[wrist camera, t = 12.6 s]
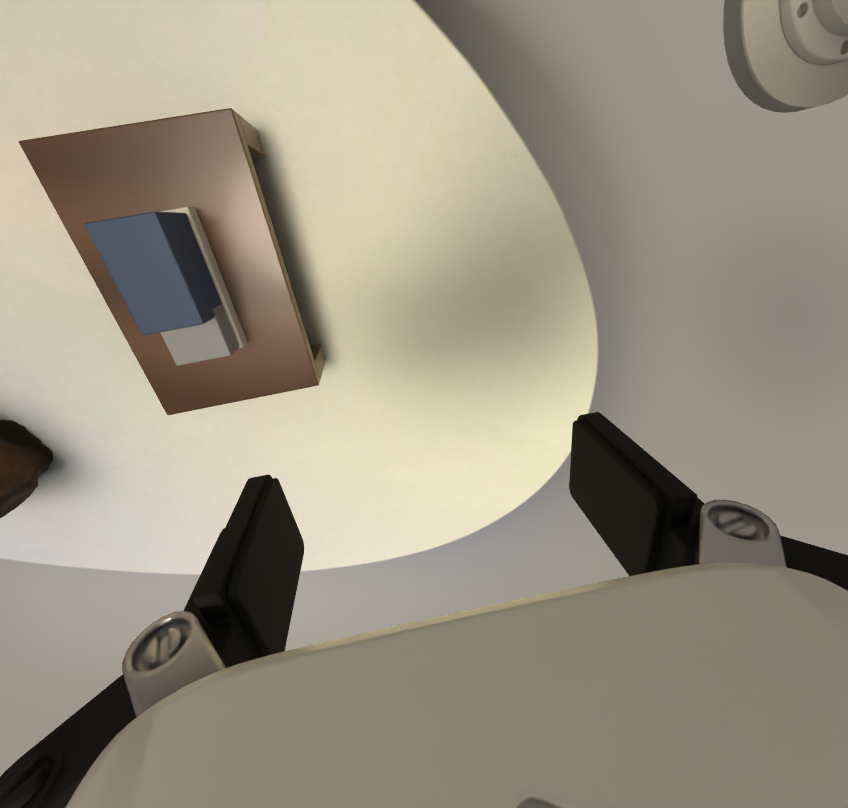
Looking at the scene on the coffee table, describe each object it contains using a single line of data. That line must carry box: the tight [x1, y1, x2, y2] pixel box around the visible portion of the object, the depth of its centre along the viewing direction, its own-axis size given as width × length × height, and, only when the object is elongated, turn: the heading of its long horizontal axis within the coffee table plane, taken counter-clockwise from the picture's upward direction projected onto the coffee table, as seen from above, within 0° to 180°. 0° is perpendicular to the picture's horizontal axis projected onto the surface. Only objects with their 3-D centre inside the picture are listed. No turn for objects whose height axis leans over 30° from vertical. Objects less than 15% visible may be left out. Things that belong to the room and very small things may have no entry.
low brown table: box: [19, 108, 325, 415], centre depth 28 cm, size 18×12×6 cm, turn 9°
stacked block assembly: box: [85, 207, 248, 366], centre depth 23 cm, size 9×4×5 cm, turn 9°
